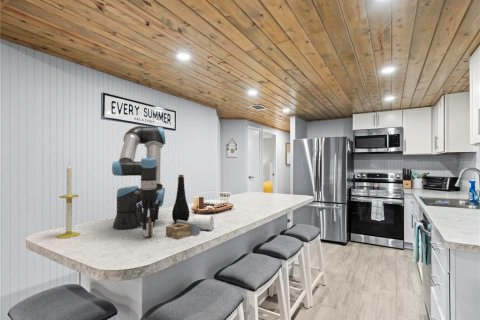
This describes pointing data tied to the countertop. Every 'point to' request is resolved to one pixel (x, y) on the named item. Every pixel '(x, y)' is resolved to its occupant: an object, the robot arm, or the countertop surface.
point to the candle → (69, 207)
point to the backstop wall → (194, 227)
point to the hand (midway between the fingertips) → (148, 235)
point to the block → (178, 230)
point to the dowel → (149, 227)
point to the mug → (204, 221)
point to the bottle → (180, 203)
